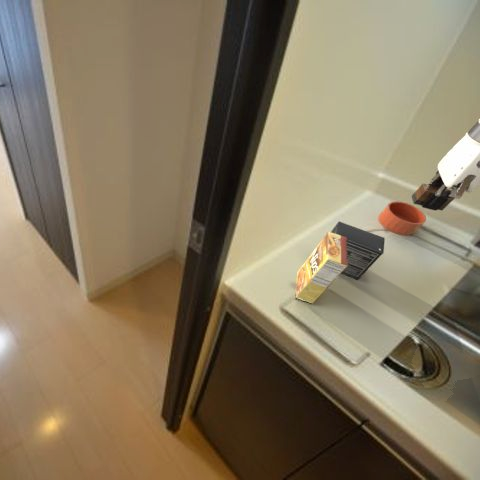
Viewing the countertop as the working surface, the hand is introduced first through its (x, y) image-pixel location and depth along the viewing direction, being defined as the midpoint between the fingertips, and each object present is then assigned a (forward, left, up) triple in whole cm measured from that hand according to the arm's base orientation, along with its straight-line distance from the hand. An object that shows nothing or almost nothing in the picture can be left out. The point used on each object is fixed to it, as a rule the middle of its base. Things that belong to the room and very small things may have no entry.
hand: (427, 202), depth 79 cm
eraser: (0, 0, 0) cm, 0 cm away
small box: (+13, +13, -15) cm, 24 cm away
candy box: (+21, +25, -15) cm, 37 cm away
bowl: (-4, -10, -15) cm, 19 cm away
